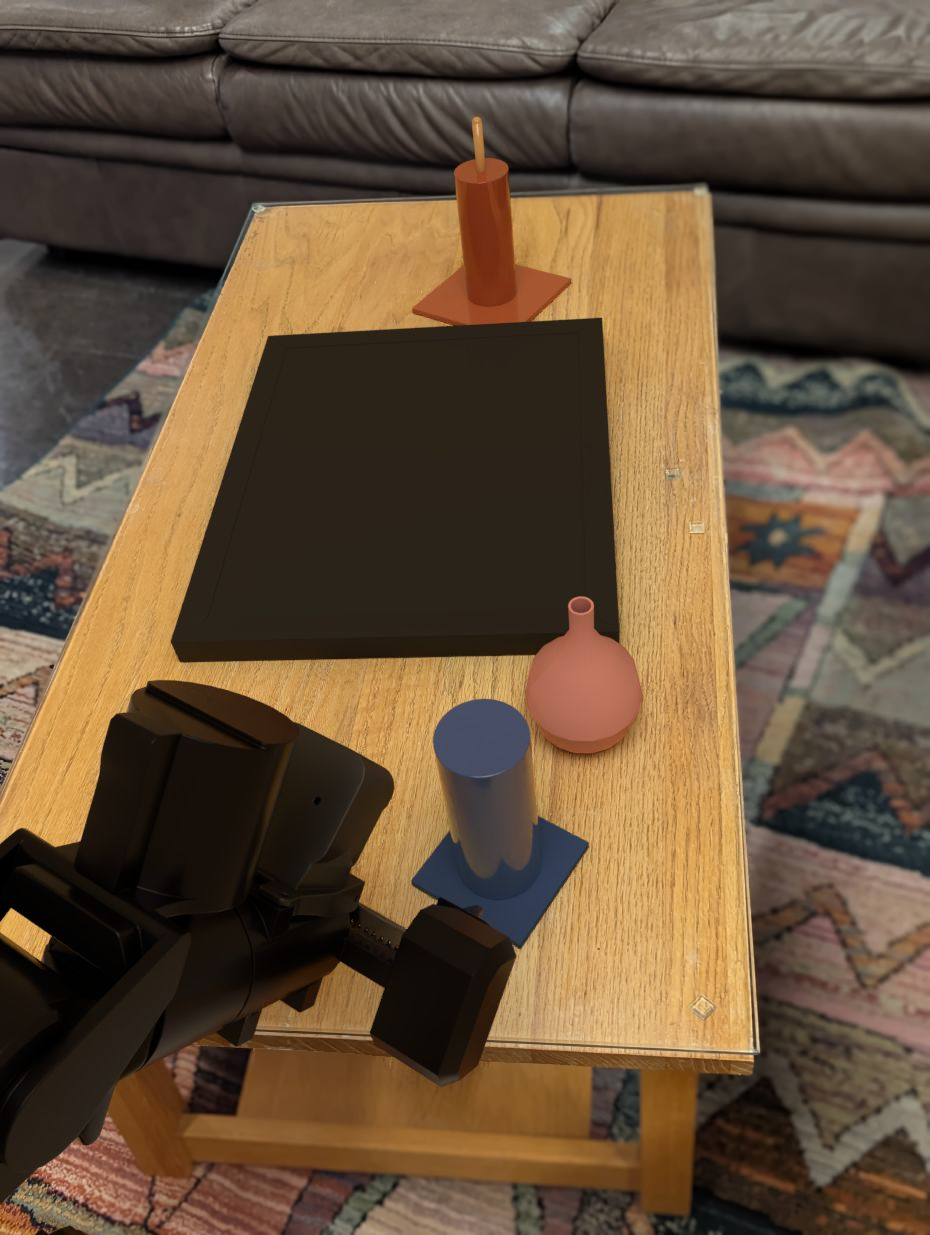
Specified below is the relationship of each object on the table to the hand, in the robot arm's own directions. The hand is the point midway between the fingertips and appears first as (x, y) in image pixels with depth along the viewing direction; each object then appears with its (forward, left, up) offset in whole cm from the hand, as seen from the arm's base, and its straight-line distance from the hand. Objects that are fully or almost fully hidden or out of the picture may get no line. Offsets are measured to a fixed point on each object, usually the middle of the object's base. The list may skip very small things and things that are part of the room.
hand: (401, 874), depth 54 cm
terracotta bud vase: (+20, +1, -12) cm, 23 cm away
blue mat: (+8, 0, -11) cm, 14 cm away
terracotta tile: (+63, +37, -11) cm, 74 cm away
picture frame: (+36, +27, -12) cm, 46 cm away
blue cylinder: (+8, 0, -11) cm, 13 cm away
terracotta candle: (+63, +37, -11) cm, 74 cm away
